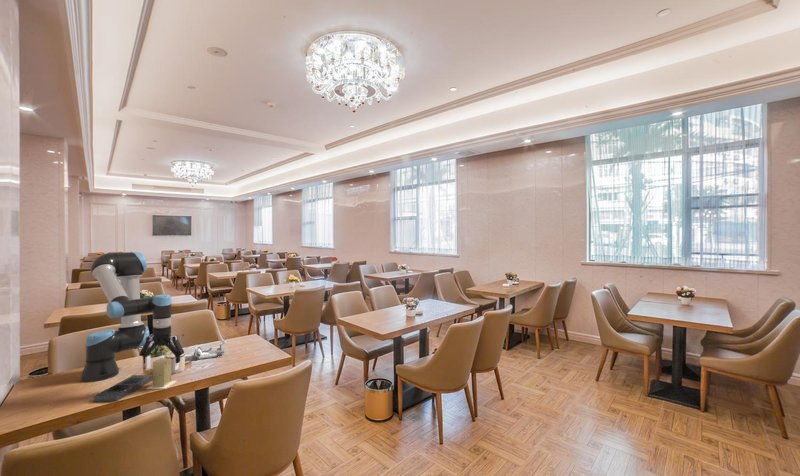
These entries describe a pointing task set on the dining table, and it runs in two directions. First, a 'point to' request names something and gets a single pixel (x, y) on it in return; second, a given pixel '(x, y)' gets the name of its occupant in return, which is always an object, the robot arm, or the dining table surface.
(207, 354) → the silver irregular piece
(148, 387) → the mat
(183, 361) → the teacup with lid
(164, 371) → the brass block
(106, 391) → the dark grey tray
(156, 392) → the dining table surface
